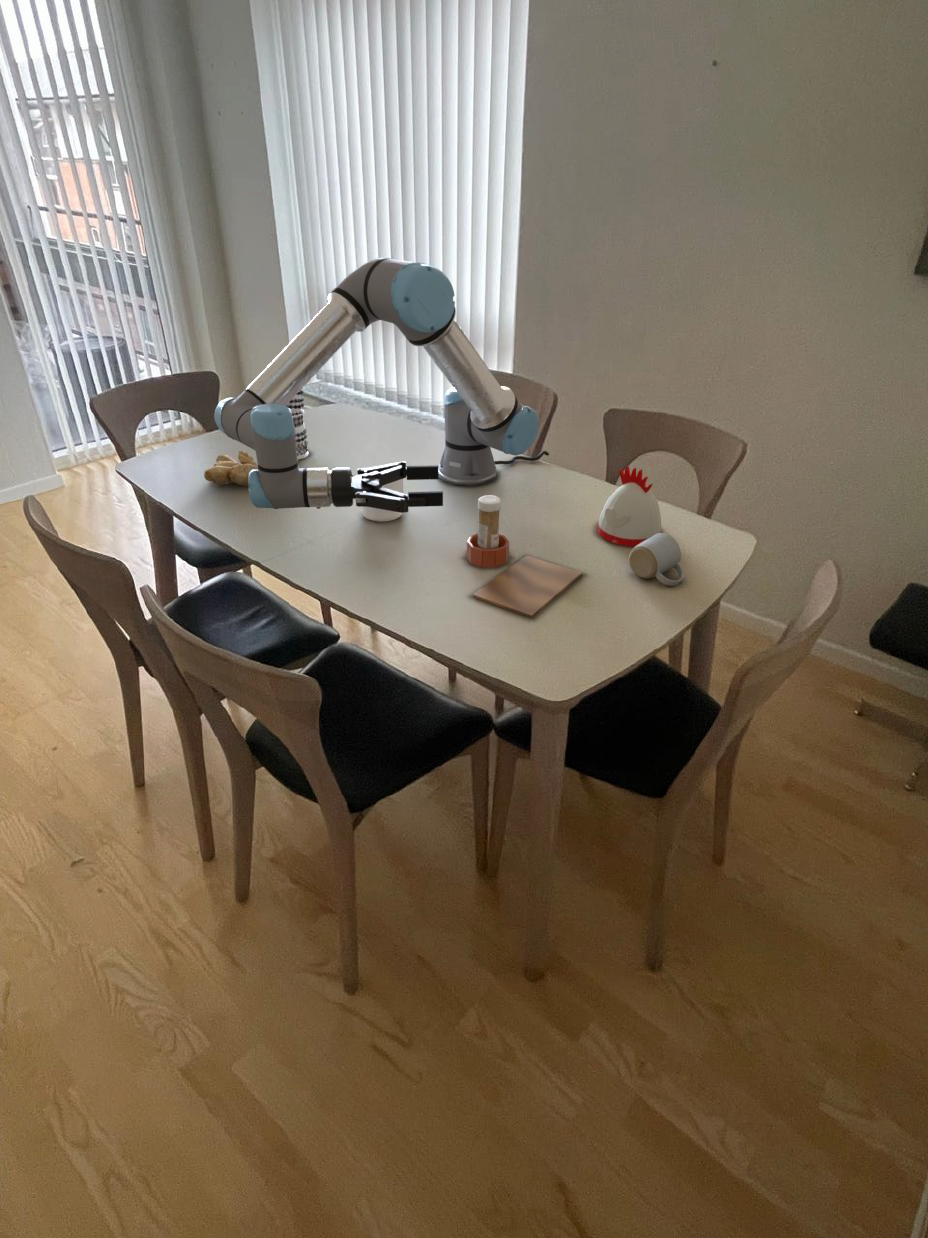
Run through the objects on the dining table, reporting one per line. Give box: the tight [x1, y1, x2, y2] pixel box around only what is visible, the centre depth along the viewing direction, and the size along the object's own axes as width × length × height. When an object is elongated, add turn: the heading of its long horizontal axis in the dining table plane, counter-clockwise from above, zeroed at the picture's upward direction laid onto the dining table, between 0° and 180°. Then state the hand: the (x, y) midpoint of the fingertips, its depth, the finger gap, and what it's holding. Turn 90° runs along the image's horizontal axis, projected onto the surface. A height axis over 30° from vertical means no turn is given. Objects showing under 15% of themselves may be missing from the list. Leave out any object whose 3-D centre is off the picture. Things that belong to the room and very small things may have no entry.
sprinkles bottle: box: [477, 494, 502, 549], centre depth 152 cm, size 5×5×14 cm
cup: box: [360, 478, 405, 523], centre depth 171 cm, size 10×10×10 cm
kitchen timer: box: [597, 465, 662, 547], centre depth 163 cm, size 14×14×15 cm
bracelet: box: [466, 533, 510, 569], centre depth 155 cm, size 8×9×4 cm
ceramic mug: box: [628, 532, 685, 587], centre depth 148 cm, size 11×8×8 cm
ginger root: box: [203, 450, 258, 487], centre depth 188 cm, size 16×16×8 cm
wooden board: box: [472, 555, 583, 619], centre depth 146 cm, size 20×13×1 cm, turn 145°
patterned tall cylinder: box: [286, 389, 309, 460], centre depth 200 cm, size 9×9×25 cm
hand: (440, 484), depth 146 cm, fingers open, 13 cm apart
